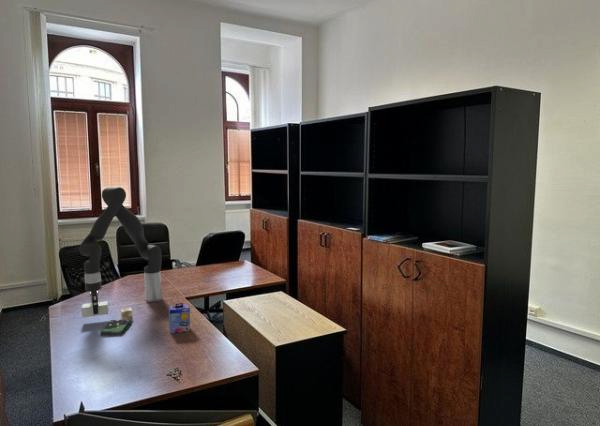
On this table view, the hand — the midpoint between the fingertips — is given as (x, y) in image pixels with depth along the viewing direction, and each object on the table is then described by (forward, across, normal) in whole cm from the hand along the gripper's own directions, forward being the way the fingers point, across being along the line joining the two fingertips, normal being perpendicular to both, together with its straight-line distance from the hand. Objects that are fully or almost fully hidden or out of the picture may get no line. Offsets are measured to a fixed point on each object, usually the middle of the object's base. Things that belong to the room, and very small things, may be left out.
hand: (95, 311), depth 220 cm
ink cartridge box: (+6, -32, -36) cm, 48 cm away
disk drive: (+6, -16, -8) cm, 19 cm away
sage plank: (+1, 0, 0) cm, 1 cm away
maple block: (+6, -3, -15) cm, 16 cm away
